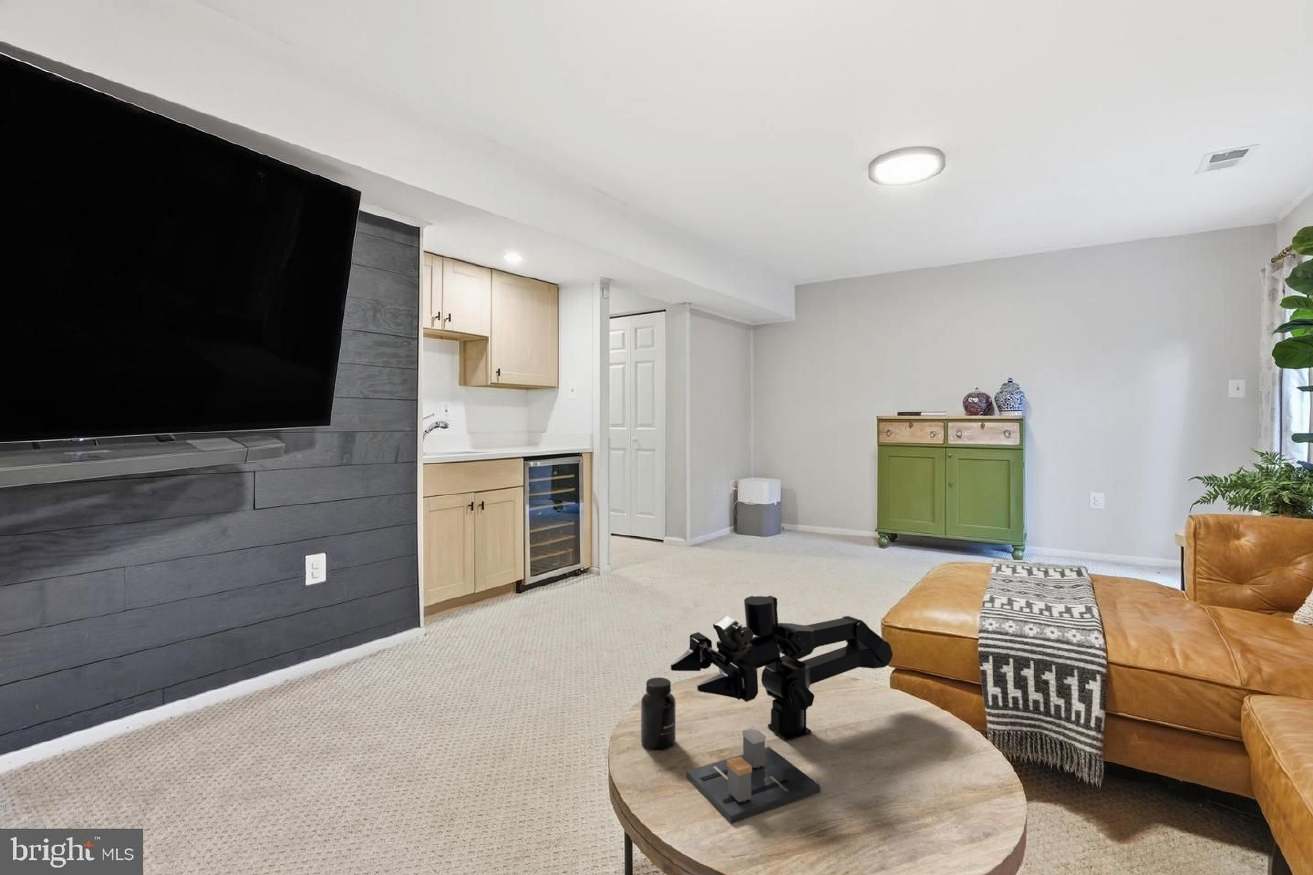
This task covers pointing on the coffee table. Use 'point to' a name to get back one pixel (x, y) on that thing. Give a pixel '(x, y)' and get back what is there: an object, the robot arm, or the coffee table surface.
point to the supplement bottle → (658, 715)
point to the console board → (754, 786)
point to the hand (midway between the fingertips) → (684, 677)
